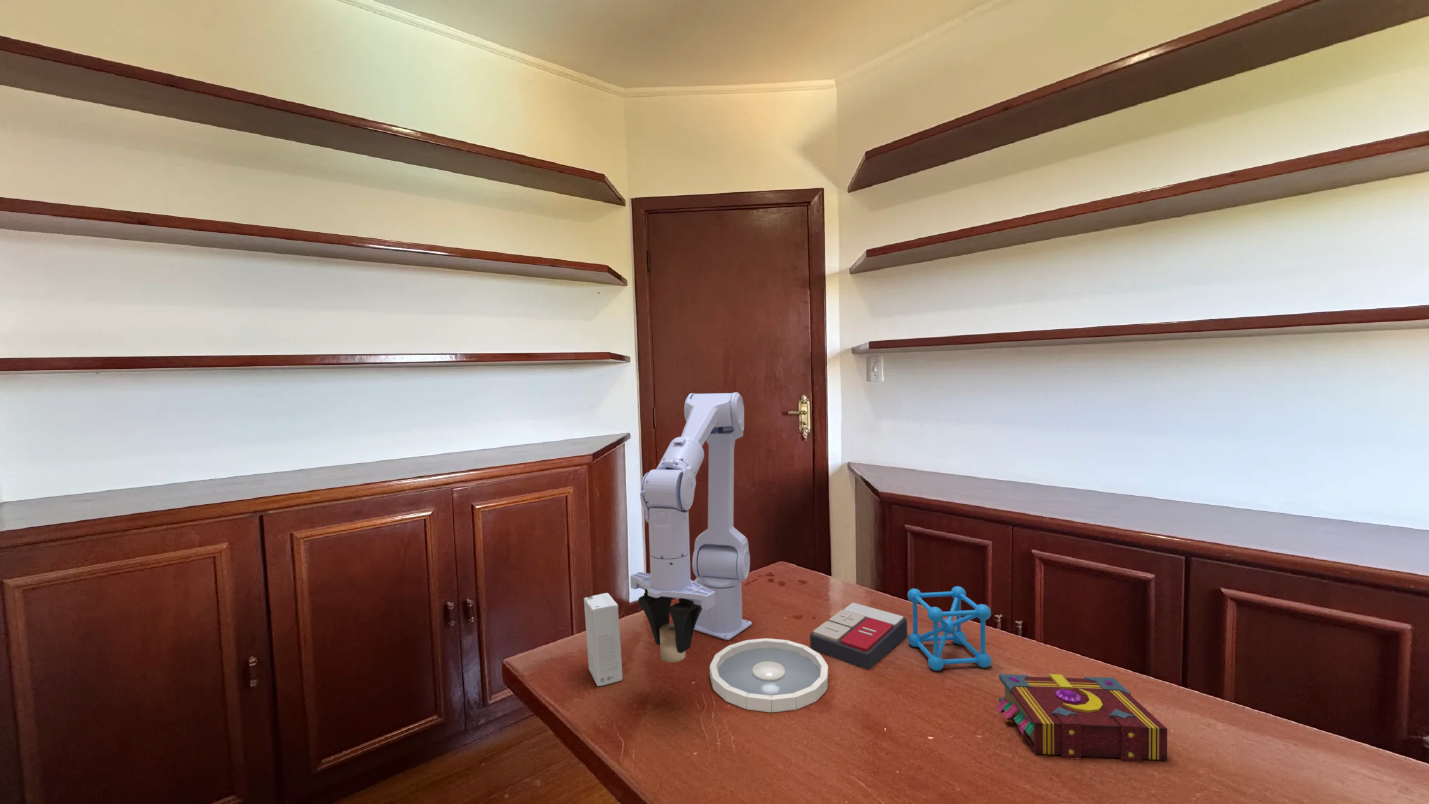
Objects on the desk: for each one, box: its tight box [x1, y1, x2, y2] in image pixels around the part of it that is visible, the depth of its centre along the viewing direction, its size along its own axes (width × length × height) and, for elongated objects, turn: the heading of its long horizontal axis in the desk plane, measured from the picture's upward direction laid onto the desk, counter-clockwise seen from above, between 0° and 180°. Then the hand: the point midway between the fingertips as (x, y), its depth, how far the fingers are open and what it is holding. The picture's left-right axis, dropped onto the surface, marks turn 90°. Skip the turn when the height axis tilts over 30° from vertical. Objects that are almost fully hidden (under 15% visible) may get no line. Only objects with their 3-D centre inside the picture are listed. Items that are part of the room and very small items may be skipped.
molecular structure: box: [907, 585, 992, 672], centre depth 92 cm, size 10×10×10 cm
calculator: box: [809, 602, 908, 670], centre depth 97 cm, size 11×4×15 cm
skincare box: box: [583, 592, 624, 687], centre depth 89 cm, size 6×4×12 cm
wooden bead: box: [659, 622, 687, 663], centre depth 80 cm, size 4×4×4 cm
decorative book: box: [995, 673, 1168, 763], centre depth 72 cm, size 11×16×5 cm
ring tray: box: [709, 637, 829, 713], centre depth 87 cm, size 18×18×2 cm
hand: (672, 646), depth 80 cm, fingers closed on wooden bead, 4 cm apart
